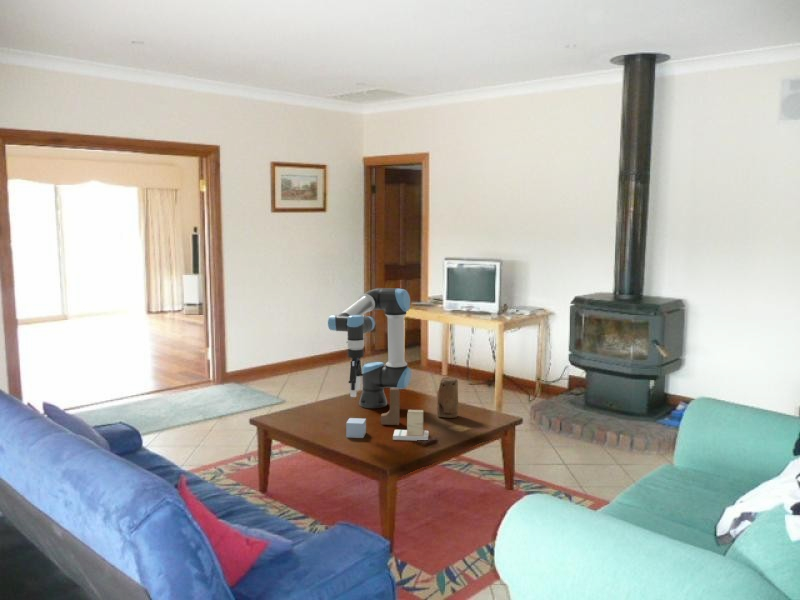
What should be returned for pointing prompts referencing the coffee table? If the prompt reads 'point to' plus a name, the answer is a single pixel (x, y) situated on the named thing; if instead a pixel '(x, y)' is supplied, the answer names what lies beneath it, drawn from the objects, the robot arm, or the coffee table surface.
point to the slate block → (356, 428)
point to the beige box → (415, 422)
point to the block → (447, 398)
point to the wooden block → (392, 409)
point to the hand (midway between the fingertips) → (355, 393)
